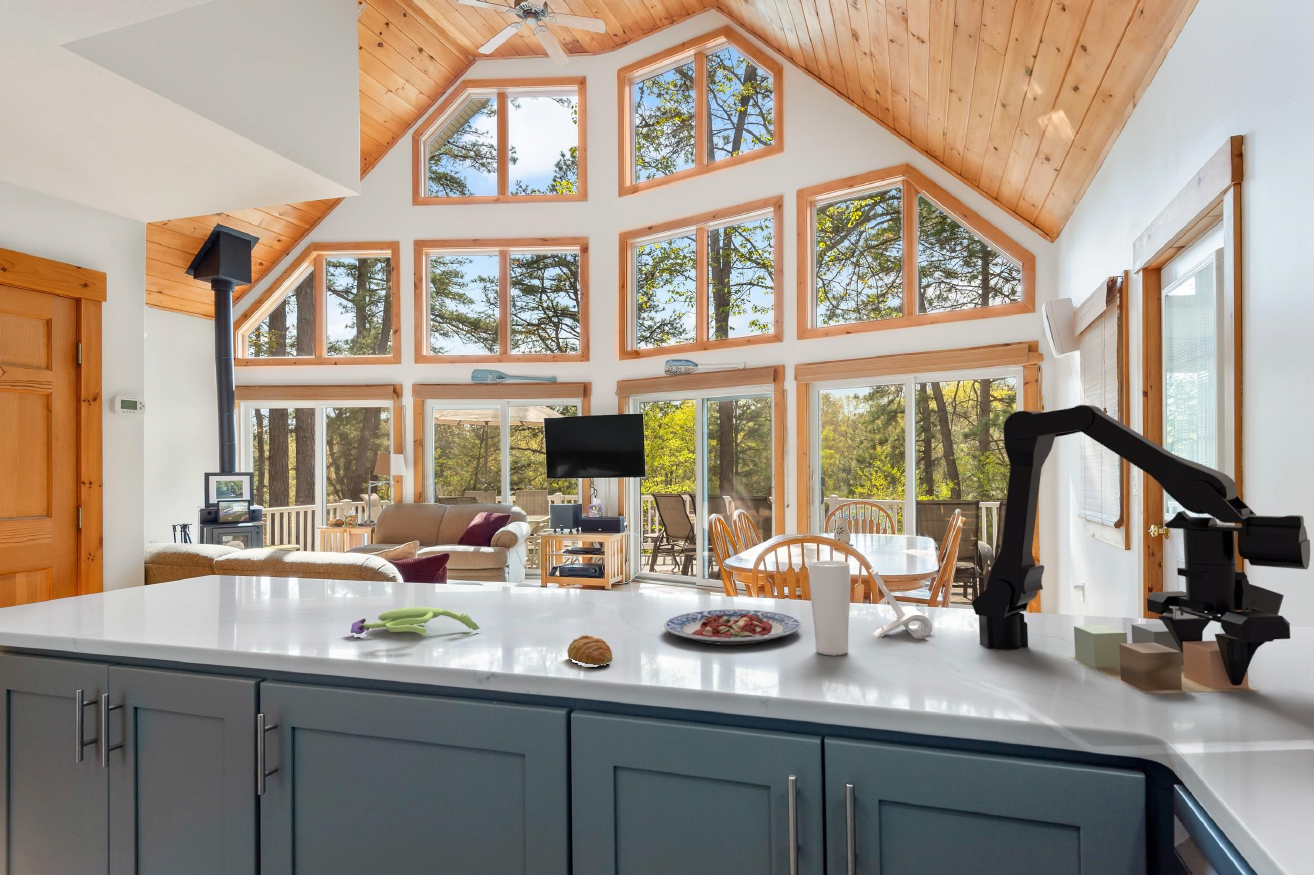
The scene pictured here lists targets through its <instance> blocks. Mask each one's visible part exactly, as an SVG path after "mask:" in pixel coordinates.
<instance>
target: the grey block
mask: <svg viewBox="0 0 1314 875" xmlns="http://www.w3.org/2000/svg"><path fill="white" fill-rule="evenodd" d="M1130 627H1131V643H1157V644H1160V645H1163V646H1165V647H1168V648H1171V649H1174V650H1177V651H1179V652H1180V658H1181V665H1184V658H1183V654H1182V652H1181V650H1180V649H1179V647H1178V645H1177V643H1176V642H1175V640H1174V639H1173V637H1172V635H1171V634H1170V632H1169V631H1168V629H1167V628H1166V626H1165V625H1164V623H1163V622H1162V623H1161V622H1160V623H1159V622H1158V623H1133V624H1131V626H1130Z"/></svg>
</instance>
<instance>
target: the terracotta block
mask: <svg viewBox="0 0 1314 875" xmlns="http://www.w3.org/2000/svg"><path fill="white" fill-rule="evenodd" d="M1183 658H1184V678H1186V679H1189V680H1191V681H1194V682H1196V683H1199V684H1201V685H1204V686H1206V687H1209V688H1211V689H1217V688H1249V686H1250V685H1249V668H1248V669H1247V672H1246V674H1245V677H1244V679H1243V682H1242V684H1241V685H1237V686H1234V685H1232V684H1231V683H1230V680H1229V678H1228V675H1227V672H1226V669H1225V666H1224V663H1223V660H1222V656H1221V653H1220V650H1219V647H1218V644H1217V641H1216V640H1202V641H1190V642H1183Z"/></svg>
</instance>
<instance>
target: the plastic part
mask: <svg viewBox="0 0 1314 875" xmlns="http://www.w3.org/2000/svg"><path fill="white" fill-rule="evenodd" d="M869 572H870V574H871V575H872V578H873V579H874V580H875V582H876V584H877V586H878V588H880V590H881V591H882V594H883V595H884V597H885V598H886V600H887V602H888V603H889V605H890V607H891V608H892V610H893V611H894V613H895V614H896V617H895V619H896V620H894V621H892V622H891V623H887V624H884V625H882V624H881V625H879V626H877V628H878V629H876V630H875V631H874V632H873V633H872V635H873V636H874V638H877V639H879V638H880V639H881V638H883V637H884V636H885V635H887V634H888V633H891V632H893V631H894V630H897V629H899V628H900V627H902V626H903V627H904V628H905V630H906V631H907V632H908V633H909V634H910V635H911V636H912V637H913V638H914V639H925V637H924V636H927V637H928V636H931V634H932V632H933V623H932V621H931V620H930V619H929V618H928V617H927V616H926V615H925V614H924V613H923V612H921V610H920V609H919V608H918V607H915V606H912V605H911V606H904V607H901V606H900V605H899V603H898V602H897V600H896V599H895V597H894V596H893V594H892V593H891V591H890V590H888V589H887V587H886V586H885V582H884V580H883V579H882V578H881V576H880V574H879V571H878V570H876V571H875V568H874V567H872V568H871V569H869ZM911 622H917V624H916V625H909V624H910V623H911Z"/></svg>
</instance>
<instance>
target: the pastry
mask: <svg viewBox="0 0 1314 875" xmlns="http://www.w3.org/2000/svg"><path fill="white" fill-rule="evenodd" d="M567 657H568V659H569V658H571V659H573V660H575V661H578V662H582V663H585V664H593V665H601V664H607V663H609V662H611V663H612V662H613V659H614V658H613V652H612V649H611V648H610V646H609V644H607V642H606V641H605V640H604V639H602V638H598V637H594V636H591V635H581V636H578V638H575V639H573V641H572V642H570V644H569V646H568V648H567Z"/></svg>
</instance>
